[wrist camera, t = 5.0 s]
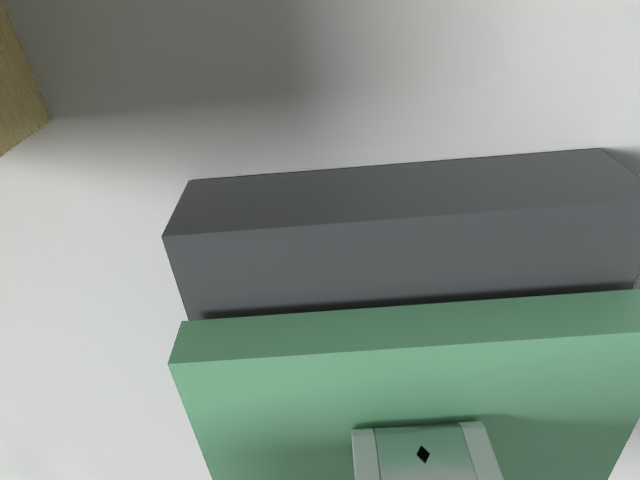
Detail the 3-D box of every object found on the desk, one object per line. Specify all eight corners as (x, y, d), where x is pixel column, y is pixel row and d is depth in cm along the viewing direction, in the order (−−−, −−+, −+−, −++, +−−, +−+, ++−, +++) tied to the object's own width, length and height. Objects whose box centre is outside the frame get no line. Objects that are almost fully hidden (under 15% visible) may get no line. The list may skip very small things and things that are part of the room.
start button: (601, 241, 11) (684, 328, 9) (551, 396, 15) (601, 492, 12) (198, 271, 11) (167, 364, 9) (239, 416, 15) (225, 514, 12)
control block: (599, 148, 11) (667, 197, 9) (527, 407, 17) (558, 475, 14) (188, 180, 11) (161, 236, 9) (253, 424, 17) (245, 494, 15)
